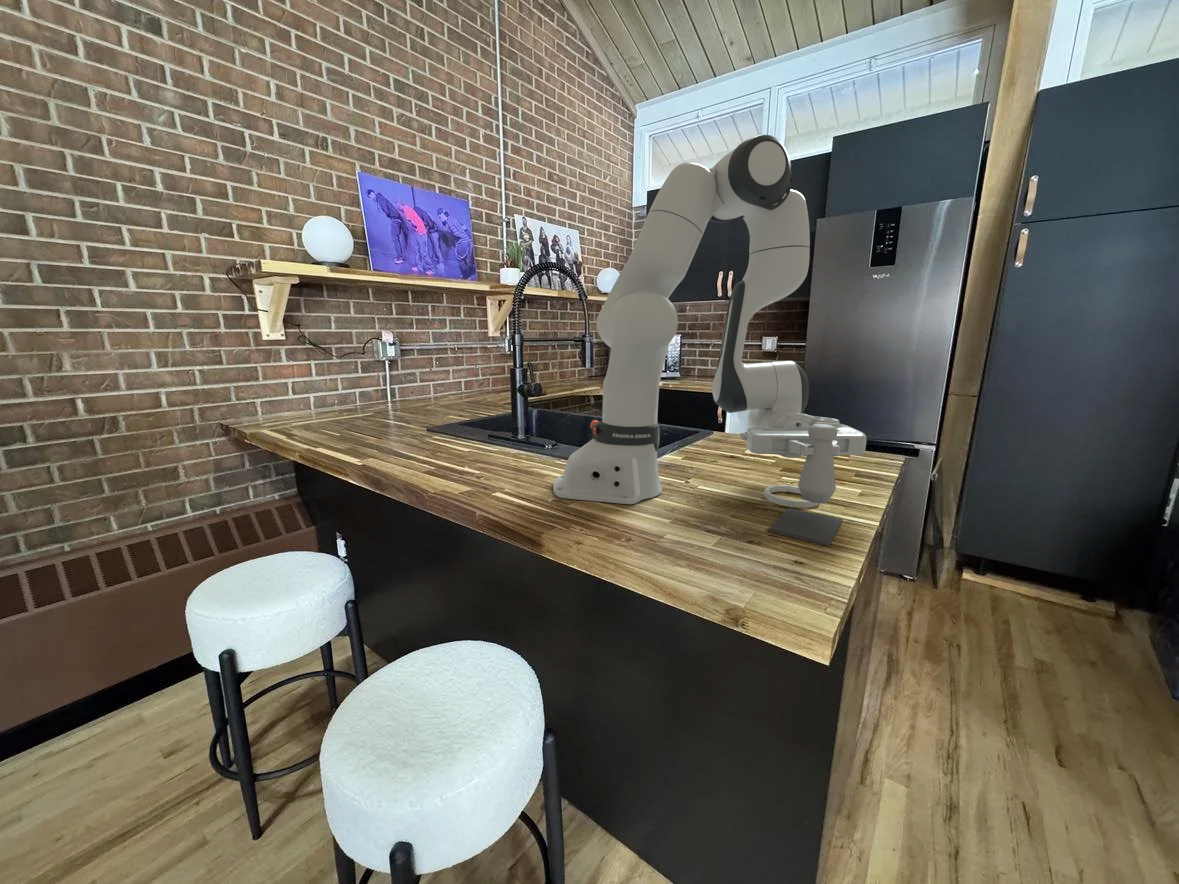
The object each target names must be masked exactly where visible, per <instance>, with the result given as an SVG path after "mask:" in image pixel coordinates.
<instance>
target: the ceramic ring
mask: <svg viewBox="0 0 1179 884" xmlns="http://www.w3.org/2000/svg"><path fill="white" fill-rule="evenodd" d="M777 492H778V493H779V492H783V493H785V492H786V493H787V492H789V493H793V494H794V493H795V494H799V495H801V492H800V489H799V487H798V486H796V485H790V484H789V485H788V484H775V485H770V486H766V487H765V489H764V490H763V497H764V498H765V499H766V500H767V501H769V502H770V503H771V502H772V503H773V504H776V505H779V506H786V507H788V508H798V509H799V508H800V509H801V508H802V509H803V508H807V509H809V508H813V507H817V506H819V504H820V503H812V502H809V501H806V500H804V499H802V500H800V499H790V498H784V497H780V496H778V495H775V494H772V493H777Z"/></svg>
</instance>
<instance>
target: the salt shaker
mask: <svg viewBox="0 0 1179 884" xmlns="http://www.w3.org/2000/svg"><path fill="white" fill-rule="evenodd" d="M808 436H809V438H811V439H812V442H811V445H812V446H814V451H813V455H812V456H805V457H806V458H805V461H804V464H803V467H802V470H801V473H800V476H799V479H798V482H797V487H799V489H800V492H801V494H800V495H801V498H802V500H806V501H809V502H812V503H819V504H825V503H827V502H829V501H830V500H831V499H832V497H833V495H834V494H835V492H836V489H837V485H836V473H835V470H836V469H835V462H834V461H835V459H834V456H833V452H832V447H833V446H832V440H835V439H836V437H837V429H836V428H835V427H834V426H831V425H827V424H814V425H812V426H810V427H809V430H808Z"/></svg>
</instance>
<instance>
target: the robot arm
mask: <svg viewBox="0 0 1179 884" xmlns="http://www.w3.org/2000/svg"><path fill="white" fill-rule="evenodd" d="M793 183H794V175H793V174H792V164H791V159H790V157H789V153H788V150H787V149H786V147H785V145H784V144H783V142H781V140H780V139H779V138H777V137H776V136H773V135H770V134H760V135H756V136H752V137H749V138H747V139H746V140H744V141H742V142H741V143H739V144H738V145H737V147H736V148H734V149H733V150H731V151H730V152H728V153H727V154H726V155H724V156H723V157H722V158H721V159H719V161H717V163H715V164H714V165H713V166H712V167H711V168H709V167H706V166H705V165H702V164H700V163H696V162H691V161H690V162H689V161H688V162H682V163H680V164H678V165H676V166H675V167H674V168H673V169H672V170H671V171H670V172H669V174H668V176H667V177H666V179H665V181H664V182H663V183H662V186H661V187H660V188H659V190H658V193H657V194H656V195H655V198H654V200H653V202H652V204H651V207H650V208H649V211H648V213H647V215H646V218H645V220H644V223H643V225H642V228H641V229H640V232H639V234H638V236H637V239H636V242H635V244H634V246H633V249H632V250H631V253H630V255H629V256H628V259H627V261H626V263H625V264H624V265H623V266H624V267H623V268H622V270H621V272H620V273H619V275H618V277H617V278H616V281H615V282H614V284H613V286H612V288H611V290H610V292H609V294H608V295H607V298H606V300H605V302H604V304H603V305H602V308H601V309H600V311H599V312H598V315H597V317H596V330H597V333H598V335H599V337H600V340H602V342H603V343H604V344H605V345H607V347H609V348H610V353H609V359H608V365H607V370H606V374H605V377H604V380H603V384H602V415H601V417H602V420H601V421H598V420H597V419H592V420H591V422H590V429H591V440H589V441H588V442H587V443H585V444H584V445H583V446H581V447H580V448H578V449H576V451H574V452H573V453H571V455H570V456H569V457H568V458H567V461H566V463H565V467H564V471H563V474H561V475H559V476H558V477H557V478H555V480H554V482H553V487H552V492H553V494H554V495H555V496H556V497H557V498H560V499H569V500H570V499H571V500H577V501H579V500H580V501H592V502H602V503H610V504H612V503H613V504H620V505H621V504H623V505H624V504H625V505H634V504H637V503H639V502H641V501H643V500H647V499H652V498H654V497H657V496H659V495H660V494H661V493H662V492H663V488H662V483H661V481H660V474H659V466H658V451H659V446H660V424H659V422H658V412H659V411H658V410H659V396H660V395H659V394H660V393H659V392H660V383H661V379H662V374H663V369H664V365H665V362H666V357H667V354H668V349H669V347H670V346H669V345H670V343H671V342H672V340H673V339H674V338H675V335H676V332H677V329H678V327H679V326H678V325H679V318H678V313H677V310H676V307H675V305H674V304H673V303H672V302H671V300H669V298H670V297H671V295H672V294H673V293H674V291H675V290H676V288H677V286H679V284H680V283H681V282H682V281H683V280H684V278H685V277H686V275H687V272H688V270H689V267H690V266H691V262H692V261H693V258H694V257H695V254H696V251H697V250H698V247H699V244H700V243H701V240H702V238H703V236H704V233H705V231H706V228H707V225H708V223H709V222H710V221H711V222H715V223H729V222H732V221H735V220H737V219H738V218H739V217H742V216H743V218H742V219H743V221H744V222H745V224H746V226H747V230H748V234H749V246H748V247H749V248H748V249H749V253H748V254H749V257H748V266H747V268H746V271H745V274H744V276H743V277H742V280H741V281H739V282H737V283H736V284H735V285H734V286H733V289H732V291H731V293H730V297H729V301H728V305H727V312H726V317H725V320H724V326H723V332H722V339H721V344H720V350H719V357H718V361H717V366H716V369H715V375H714V378H713V382H712V389H711V391H712V396H713V397H712V398H713V401H714V403H715V404H716V405H717V406H718V407H719V408H721V409H722V410H723V411H725V412H726V413H729V414H733V413H741V412H745V411H748V410H749V414H748V417H747V424H748V429H747V430H746V432H740V433H739V439H741V440H742V441H745V442H746V443H745V445H746V448H747V450H748V452H750V453H753V454H757V455H779V456H782V457H783V458H788V459H795V458H800V457H807V456H812V455H813V451H814V446H812V445H811V442H812V439H811V438H809V436H808V430H809V427H810V426H812V425H814V424H827V425H831V426H834V427H835V428H836V429H837V437H836V439H835V440H832V446H833V447H832V452H833V457H835V458H836V457H840V456H841V455H844V456H846V455H853V456H861V455H863V454H865V450H866V448H867V447H866V446H867V435H866V434H865V433H864V432H862V431H860V430H858V429H856V428H853V427H851V426H850V425H849V426H848V425H845V424H842V423H840V420H839V419H836V418H832V417H823V416H816V415H815V416H814V415H809V414H806V413H803V412H804V411H805V409H806V407H807V405H808V402H809V396H810V382H809V379H808V376H807V374H806V372H805V371H804V370H803V368H802V367H801V366H800V364H798V363H797V362H796V361H794V360H776V361H775V360H774V361H766V362H750V363H744V362H743V361H742V359H743V353H744V347H745V344H746V343H745V341H746V337H747V332H748V325H749V322H750V320H751V319H752V318H753V316H754V315H755V314H756V313H757V312H758V311H760V310H761V309H763V308H765V307H768V306H769V305H771V304H774V303H776V302H779V301H780V300H782V299H784V298H786V297H788V296H789V295H791V294H792V293H794V292H796V291H797V289H799V288H800V287H801V285H802V284H803V283H804V281H805V280H806V278H807V276H808V271H809V266H810V257H811V255H810V251H811V250H810V249H811V247H810V245H811V241H810V239H811V237H810V234H811V233H810V231H811V230H810V221H809V220H810V219H809V213H808V212H809V211H808V205H807V202H806V199H805V197H804V195H803V194H802V193H801V192H799V191H798V190H796V189H792V188H793V185H794V184H793Z"/></svg>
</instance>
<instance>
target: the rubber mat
mask: <svg viewBox="0 0 1179 884" xmlns="http://www.w3.org/2000/svg"><path fill="white" fill-rule="evenodd" d="M842 521H843V519H842V518H838V517H833V516H828V515H823V514H820V513H815V512H811V511H810V512H809V511H805V510H801V509H797V508H796V509H795V508H792V507H787V508H786V509H785V510H784V512H783V513H782V514H781V515H779V517H777V519H776V520H775V521H774V523H772V525H771V526H770V527H769V528H768V529H769V530H768V531H769V532H770V533H774V534H777V535H781V536H785V537H790V538H795V539H799V540H803V541H807V542H809V543H813V544H818V545H821V546H822V545H823V546H826V547H830V545H831V543H832V541H833V540H834V538H835V536H836V534H837V532H838V531H839V529H840V526H841V524H842Z"/></svg>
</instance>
